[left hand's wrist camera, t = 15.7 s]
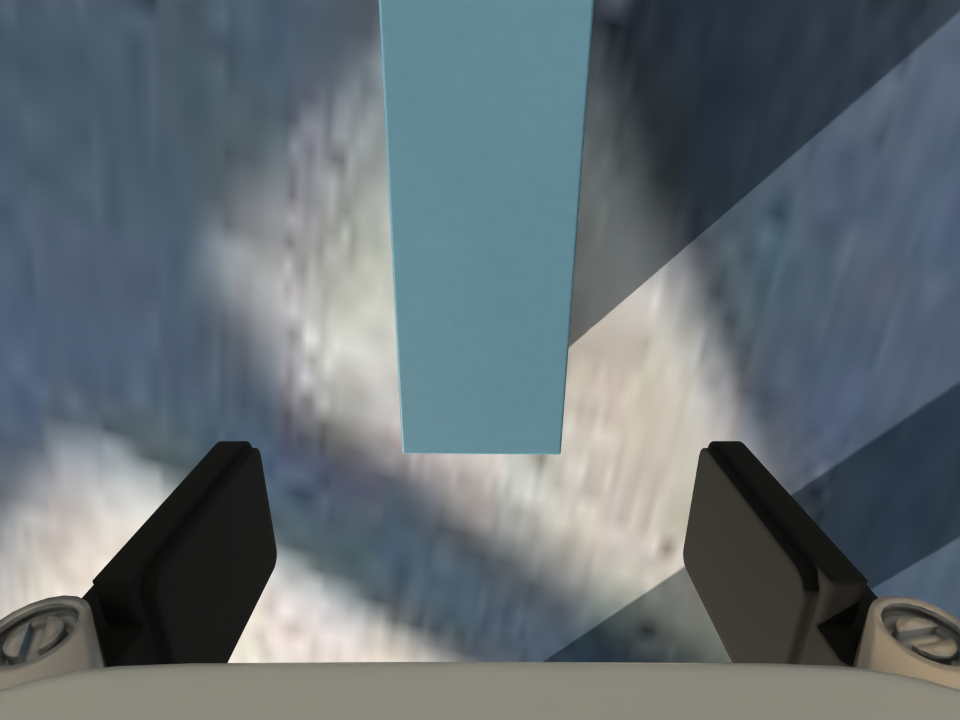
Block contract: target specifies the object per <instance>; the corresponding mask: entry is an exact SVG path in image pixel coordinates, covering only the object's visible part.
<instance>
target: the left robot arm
mask: <svg viewBox="0 0 960 720" xmlns="http://www.w3.org/2000/svg"><path fill="white" fill-rule="evenodd" d="M276 558H277V550H276V544H275V538H274V532H273V526H272V520H271V514H270V508H269V502H268V496H267V490H266V484H265V478H264V472H263V466H262V461H261V455H260V452H259V450H258V449H257V448H252V446H251V444H250V443H249V442H248V441H221V442H218V443H217V444H216V445H215V446H214V447H213V448H212V449H211V450H210V451H209V452H208V454H207V455H206V456H205V457H204V458H203V459H202V460H201V461H200V462H199V464H198V465H197V466H196V467H195V468H194V469H193V470H192V471H191V472H190V474H189V475H188V476H187V477H186V478H185V479H184V480H183V481H182V482H181V483H180V485H179V486H178V487H177V488H176V489H175V490H174V491H173V492H172V493H171V495H170V496H169V497H168V498H167V499H166V500H165V501H164V502H163V503H162V504H161V506H160V507H159V508H158V509H157V510H156V511H155V512H154V513H153V514H152V516H151V517H150V518H149V519H148V520H147V521H146V522H145V523H144V524H143V525H142V527H141V528H140V529H139V530H138V531H137V532H136V533H135V534H134V535H133V537H132V538H131V539H130V540H129V541H128V542H127V543H126V544H125V545H124V546H123V548H122V549H121V550H120V551H119V552H118V553H117V554H116V555H115V556H114V558H113V559H112V560H111V561H110V562H109V563H108V564H107V565H106V566H105V567H104V569H103V570H102V571H101V572H100V573H99V574H98V575H97V576H96V577H95V579H94V580H93V584H94V585H93V586H92V587H91V589H90V590H89V591H88V592H87V593H86V594H85V595H84V596H83V597H82V598H79V597H77V596H58V597H51V598H47V599H44V600H40V601H37V602H34V603H31V604H29V605H27V606H25V607H22V608H20V609H18V610H16V611H14V612H12V613H11V614H9V615H7V616H6V617H4V618H3V619H1V620H0V720H960V620H959V619H957V618H956V617H954V616H953V615H951V614H949V613H948V612H946V611H944V610H942V609H940V608H938V607H935V606H933V605H931V604H929V603H926V602H923V601H920V600H916V599H913V598H909V597H902V596H883V597H881V598H878V597H877V596H876V595H875V594H874V593H873V592H872V591H871V590H870V589H869V587H868V586H867V585H866V584H867V580H866V579H865V577H864V576H863V575H862V574H861V573H860V572H859V571H858V570H857V569H856V567H855V566H854V565H853V564H852V563H851V562H850V561H849V560H848V559H847V558H846V556H845V555H844V554H843V553H842V552H841V551H840V550H839V549H838V548H837V546H836V545H835V544H834V543H833V542H832V541H831V540H830V539H829V538H828V537H827V535H826V534H825V533H824V532H823V531H822V530H821V529H820V528H819V527H818V525H817V524H816V523H815V522H814V521H813V520H812V519H811V518H810V517H809V516H808V514H807V513H806V512H805V511H804V510H803V509H802V508H801V507H800V506H799V504H798V503H797V502H796V501H795V500H794V499H793V498H792V497H791V496H790V495H789V493H788V492H787V491H786V490H785V489H784V488H783V487H782V486H781V485H780V483H779V482H778V481H777V480H776V479H775V478H774V477H773V476H772V475H771V474H770V472H769V471H768V470H767V469H766V468H765V467H764V466H763V465H762V464H761V462H760V461H759V460H758V459H757V458H756V457H755V456H754V455H753V454H752V452H751V451H750V450H749V449H748V448H747V447H746V446H745V445H744V444H743V443H742V442H739V441H712V442H711V443H710V444H709V446H708V448H703V449H702V450H701V452H700V455H699V461H698V466H697V472H696V478H695V484H694V490H693V496H692V502H691V508H690V514H689V520H688V526H687V532H686V538H685V544H684V550H683V558H684V564H685V567H686V570H687V572H688V574H689V576H690V578H691V580H692V582H693V584H694V586H695V588H696V590H697V592H698V594H699V596H700V598H701V600H702V602H703V604H704V606H705V608H706V610H707V612H708V614H709V616H710V618H711V620H712V622H713V624H714V626H715V628H716V630H717V632H718V634H719V636H720V638H721V640H722V642H723V644H724V646H725V648H726V650H727V652H728V655H729V657H730V659H731V661H732V663H618V662H342V663H228V661H229V659H230V657H231V655H232V652H233V650H234V648H235V646H236V644H237V642H238V640H239V638H240V636H241V634H242V632H243V630H244V628H245V626H246V624H247V622H248V620H249V618H250V616H251V614H252V612H253V610H254V608H255V606H256V604H257V602H258V600H259V598H260V596H261V594H262V592H263V590H264V588H265V586H266V584H267V582H268V580H269V578H270V576H271V574H272V572H273V570H274V567H275V564H276Z"/></svg>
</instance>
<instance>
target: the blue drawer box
mask: <svg viewBox="0 0 960 720" xmlns="http://www.w3.org/2000/svg"><path fill="white" fill-rule="evenodd" d="M379 9H380V29H381V48H382V67H383V87H384V106H385V125H386V145H387V164H388V183H389V203H390V222H391V241H392V261H393V280H394V299H395V319H396V338H397V357H398V377H399V396H400V415H401V435H402V451H403V453H430V454H560V453H561V441H562V427H563V414H564V400H565V387H566V373H567V360H568V346H569V333H570V319H571V306H572V292H573V279H574V265H575V252H576V238H577V225H578V211H579V198H580V184H581V171H582V157H583V144H584V130H585V117H586V103H587V90H588V76H589V63H590V49H591V36H592V22H593V9H594V0H379Z"/></svg>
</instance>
